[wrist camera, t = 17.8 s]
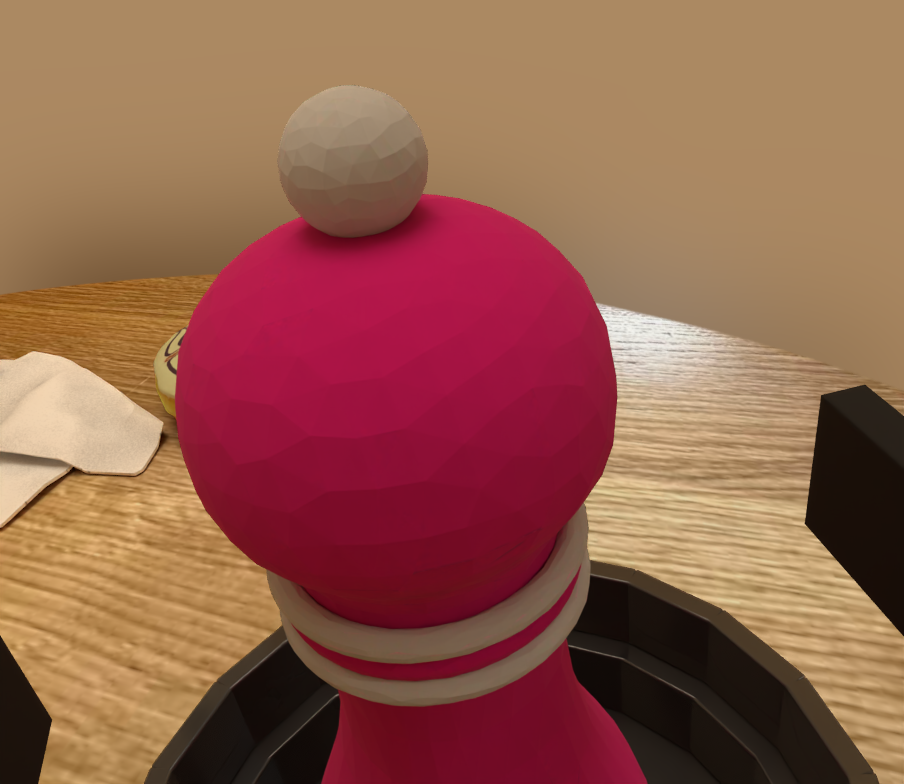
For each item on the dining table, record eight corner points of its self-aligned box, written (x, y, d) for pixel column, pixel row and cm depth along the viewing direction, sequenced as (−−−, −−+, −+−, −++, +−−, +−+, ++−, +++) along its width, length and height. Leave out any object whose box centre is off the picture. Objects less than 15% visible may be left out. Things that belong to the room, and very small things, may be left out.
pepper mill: (468, 1225, 16) (99, 299, 5) (308, 908, 22) (-39, 121, 11) (728, 973, 19) (823, 44, 8) (531, 748, 25) (434, 4, 14)
